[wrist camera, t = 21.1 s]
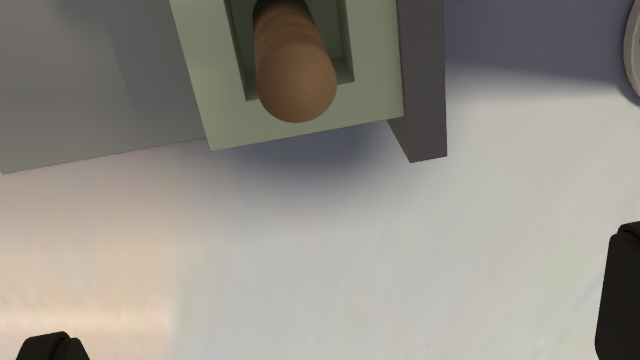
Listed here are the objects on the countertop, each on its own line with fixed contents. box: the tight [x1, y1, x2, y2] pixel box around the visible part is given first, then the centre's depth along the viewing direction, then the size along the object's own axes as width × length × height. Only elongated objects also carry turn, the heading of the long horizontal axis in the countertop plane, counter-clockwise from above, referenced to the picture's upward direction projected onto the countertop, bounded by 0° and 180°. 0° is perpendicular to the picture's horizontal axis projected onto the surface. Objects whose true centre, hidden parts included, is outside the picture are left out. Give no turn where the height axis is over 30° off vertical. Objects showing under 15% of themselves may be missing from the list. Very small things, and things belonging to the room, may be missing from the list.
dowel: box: [252, 0, 337, 123], centre depth 25 cm, size 3×3×10 cm
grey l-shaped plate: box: [0, 0, 447, 174], centre depth 28 cm, size 25×15×6 cm, turn 98°
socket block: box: [169, 0, 404, 152], centre depth 28 cm, size 10×10×5 cm
